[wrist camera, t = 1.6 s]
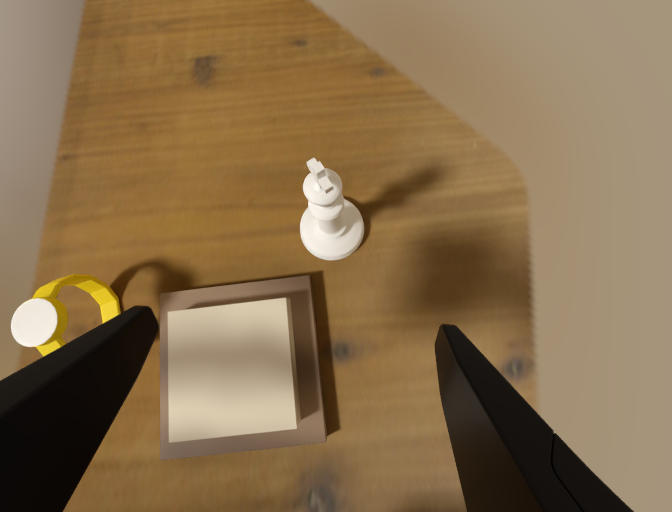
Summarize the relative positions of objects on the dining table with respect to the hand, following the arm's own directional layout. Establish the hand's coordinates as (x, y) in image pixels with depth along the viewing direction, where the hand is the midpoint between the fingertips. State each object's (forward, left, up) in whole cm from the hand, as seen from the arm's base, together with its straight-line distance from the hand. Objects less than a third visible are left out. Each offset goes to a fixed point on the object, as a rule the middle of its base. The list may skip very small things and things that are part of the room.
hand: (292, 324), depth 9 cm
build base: (-2, +6, -13) cm, 15 cm away
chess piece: (+7, -1, -13) cm, 15 cm away
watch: (+2, +16, -13) cm, 21 cm away
